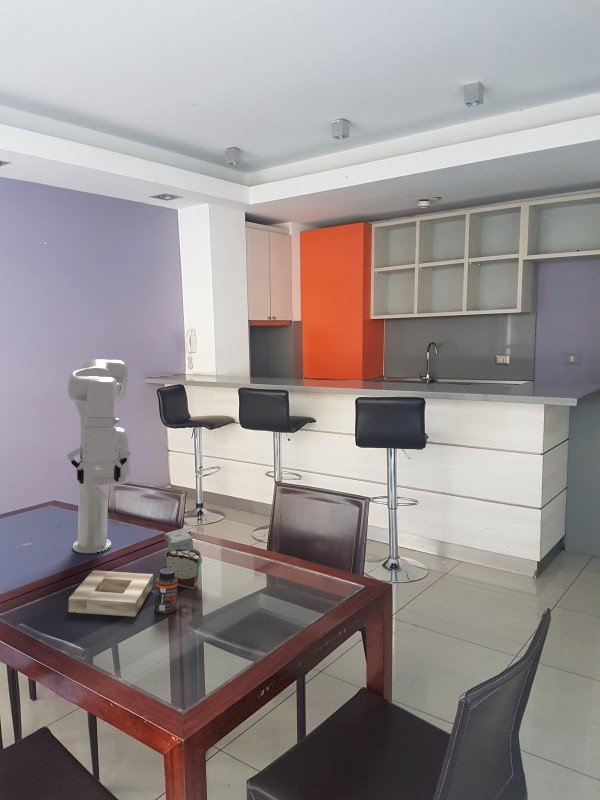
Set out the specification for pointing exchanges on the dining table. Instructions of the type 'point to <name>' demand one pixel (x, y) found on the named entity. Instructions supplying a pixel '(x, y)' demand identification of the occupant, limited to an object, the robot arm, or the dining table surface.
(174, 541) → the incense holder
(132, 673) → the dining table surface
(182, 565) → the food container
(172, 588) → the supplement bottle
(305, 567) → the dining table surface
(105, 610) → the socket board
